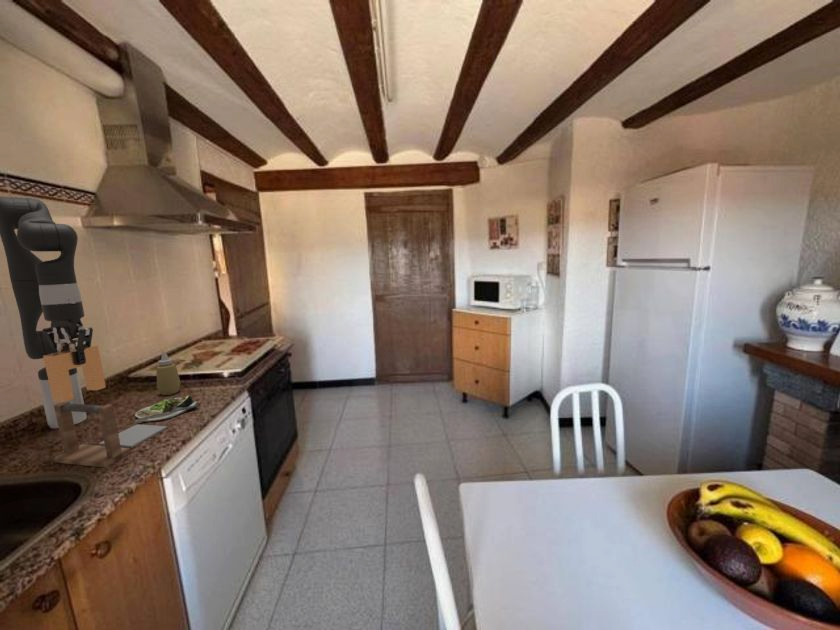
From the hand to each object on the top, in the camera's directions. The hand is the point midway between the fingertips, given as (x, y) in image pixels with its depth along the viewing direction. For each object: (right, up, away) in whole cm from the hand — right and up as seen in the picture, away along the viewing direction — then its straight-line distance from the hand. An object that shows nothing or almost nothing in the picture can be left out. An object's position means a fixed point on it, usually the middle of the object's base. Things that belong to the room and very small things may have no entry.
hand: (74, 363), depth 95 cm
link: (0, -9, +2) cm, 9 cm away
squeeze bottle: (-11, -20, +52) cm, 57 cm away
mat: (+3, -25, +16) cm, 30 cm away
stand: (+1, -28, +5) cm, 28 cm away
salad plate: (+1, -23, +35) cm, 42 cm away
